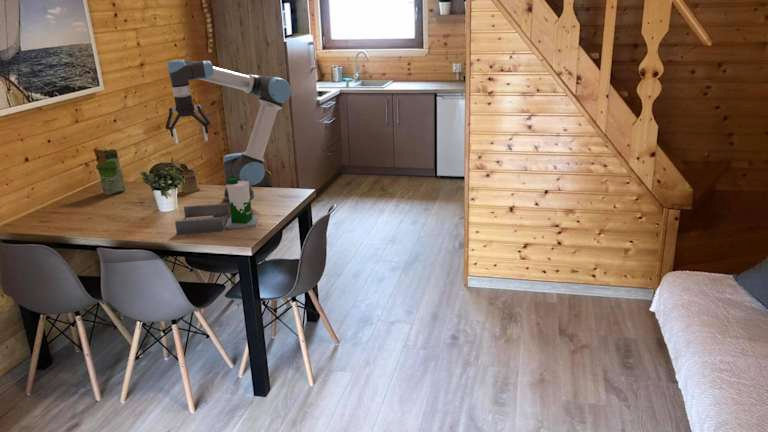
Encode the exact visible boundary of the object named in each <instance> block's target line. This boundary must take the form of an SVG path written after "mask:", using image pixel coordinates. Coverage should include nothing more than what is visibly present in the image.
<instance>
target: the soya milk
mask: <svg viewBox="0 0 768 432" xmlns="http://www.w3.org/2000/svg"><path fill="white" fill-rule="evenodd" d="M228 182H229V183H228V184H227V185H226V184H225V188H226V187H227V191H228V196H229V201H228V203H229V204H228V205H229V211H230V217H231V221H232V223H244V224H246V223H247V222H249V221H250V220H251V219H252V215H253V213H252V212H253V211H252V202H251V199H250V192H249V181H238V180H237V178H235V177H234V178H229V179H228Z"/></svg>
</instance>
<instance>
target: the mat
mask: <svg viewBox="0 0 768 432" xmlns="http://www.w3.org/2000/svg"><path fill="white" fill-rule="evenodd" d="M258 219H259V215H258V214H255V215H253V214H252V219H251V220H250V221H249V222H247V223H246V224H244V223H232V221H231V216H229V217H228V220H227V223H226V225H225V228H226V229H237V228H251V227H257V224H258V223H257V222H258Z"/></svg>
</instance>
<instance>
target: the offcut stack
mask: <svg viewBox="0 0 768 432" xmlns="http://www.w3.org/2000/svg"><path fill="white" fill-rule="evenodd" d="M207 218H215V217H213V215H212V216H201V217H190V218H186V219H185V220H193V219H207Z"/></svg>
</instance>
